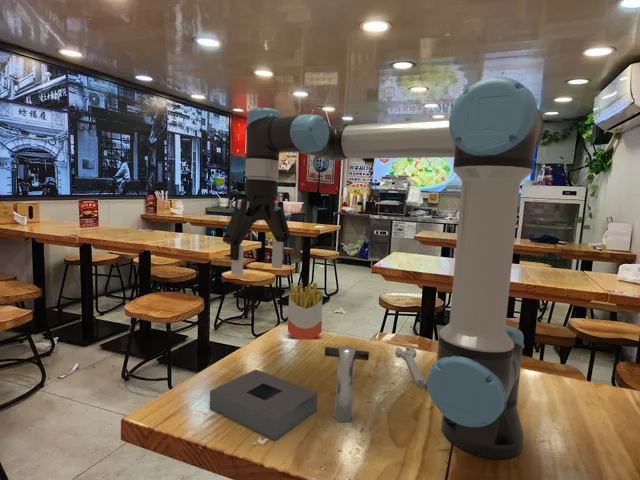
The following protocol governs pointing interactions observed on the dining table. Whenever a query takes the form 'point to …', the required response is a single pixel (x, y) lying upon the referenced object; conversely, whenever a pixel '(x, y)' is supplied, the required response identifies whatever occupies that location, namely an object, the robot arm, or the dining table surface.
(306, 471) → the dining table surface
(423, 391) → the dining table surface
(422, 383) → the adjustable wrench
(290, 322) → the french fries container
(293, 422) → the block
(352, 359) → the chuck key
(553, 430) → the dining table surface
